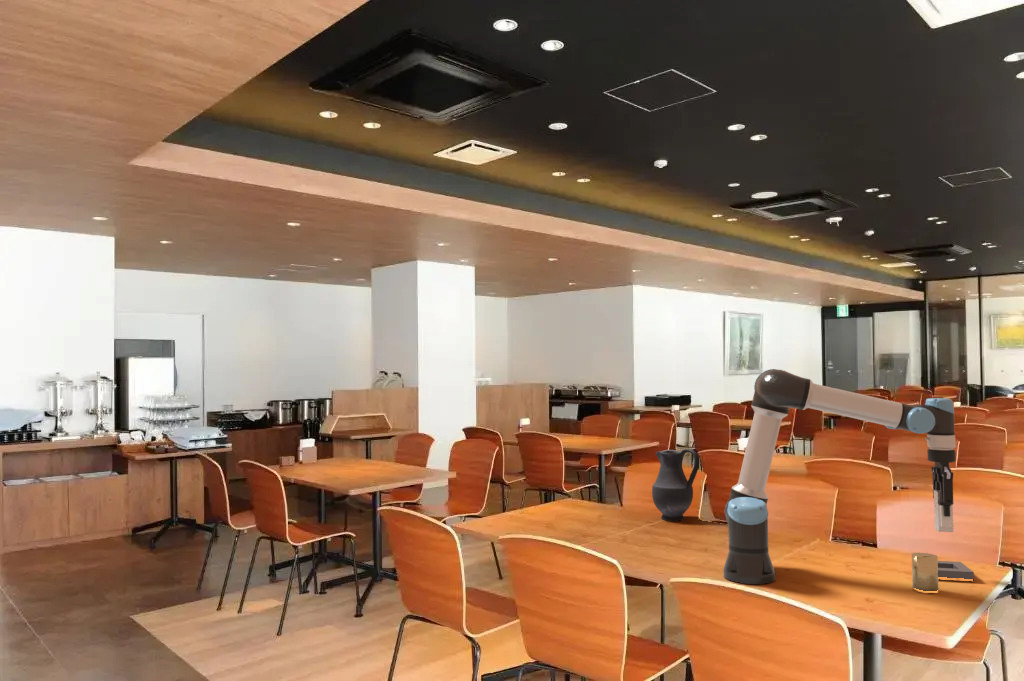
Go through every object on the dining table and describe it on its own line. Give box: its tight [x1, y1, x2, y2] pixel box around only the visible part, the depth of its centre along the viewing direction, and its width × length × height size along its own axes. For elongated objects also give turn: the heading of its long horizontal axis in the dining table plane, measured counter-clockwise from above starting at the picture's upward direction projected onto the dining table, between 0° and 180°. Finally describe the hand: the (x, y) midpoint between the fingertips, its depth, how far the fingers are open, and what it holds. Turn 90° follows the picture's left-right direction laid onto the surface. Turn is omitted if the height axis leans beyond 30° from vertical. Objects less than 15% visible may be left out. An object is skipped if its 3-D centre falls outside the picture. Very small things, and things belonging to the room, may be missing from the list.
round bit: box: [911, 552, 940, 591], centre depth 215 cm, size 6×6×10 cm
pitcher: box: [651, 448, 700, 522], centre depth 319 cm, size 17×21×30 cm
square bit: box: [933, 490, 955, 533], centre depth 230 cm, size 4×4×12 cm
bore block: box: [938, 560, 975, 580], centre depth 229 cm, size 12×12×3 cm
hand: (943, 525), depth 230 cm, fingers closed on square bit, 4 cm apart
